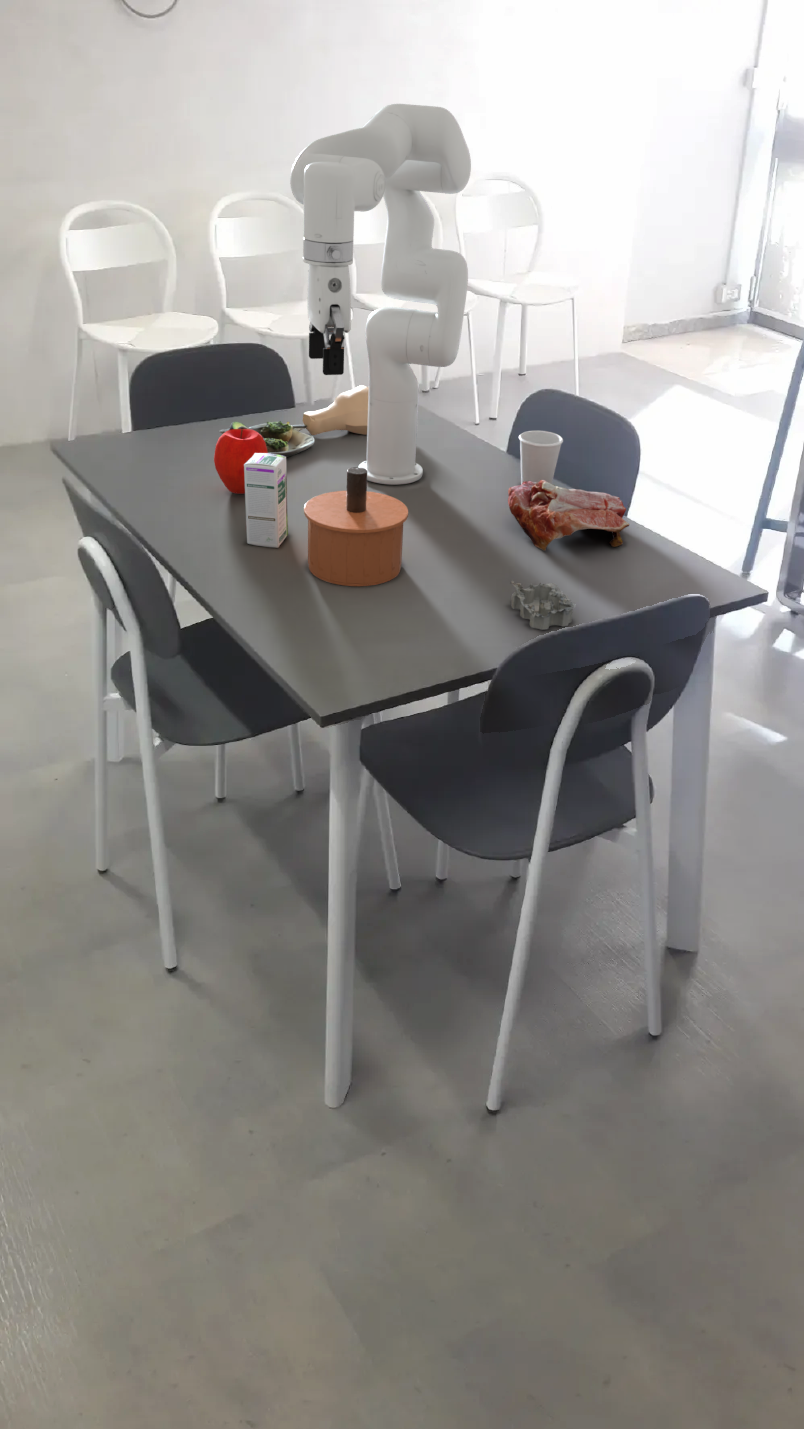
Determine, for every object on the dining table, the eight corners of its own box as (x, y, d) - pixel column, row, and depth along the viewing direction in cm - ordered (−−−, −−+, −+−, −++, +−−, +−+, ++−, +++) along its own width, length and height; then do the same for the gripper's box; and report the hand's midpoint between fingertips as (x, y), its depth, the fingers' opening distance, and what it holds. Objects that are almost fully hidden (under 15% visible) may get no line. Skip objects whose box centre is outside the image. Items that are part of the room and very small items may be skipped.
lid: (305, 495, 210) (305, 451, 206) (406, 498, 211) (408, 454, 207) (302, 535, 196) (302, 488, 192) (409, 538, 197) (412, 491, 193)
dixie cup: (506, 482, 245) (511, 432, 240) (544, 478, 248) (549, 428, 243) (527, 497, 238) (532, 446, 233) (565, 493, 241) (571, 442, 236)
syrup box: (278, 548, 213) (278, 466, 205) (245, 544, 214) (243, 462, 206) (288, 535, 218) (287, 455, 210) (255, 531, 219) (253, 451, 211)
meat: (560, 500, 238) (566, 449, 233) (650, 535, 225) (658, 482, 220) (483, 526, 226) (488, 472, 220) (574, 565, 213) (581, 509, 207)
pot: (309, 546, 214) (309, 494, 209) (399, 549, 215) (402, 496, 210) (306, 585, 201) (306, 529, 196) (402, 587, 202) (405, 532, 197)
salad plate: (281, 423, 269) (280, 402, 267) (336, 446, 259) (337, 424, 256) (207, 441, 257) (206, 419, 255) (262, 466, 247) (262, 443, 244)
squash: (403, 434, 268) (404, 396, 262) (317, 455, 261) (317, 416, 255) (380, 410, 275) (381, 373, 269) (296, 430, 268) (295, 392, 262)
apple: (234, 506, 228) (232, 441, 222) (204, 489, 235) (201, 426, 228) (279, 494, 234) (278, 430, 228) (248, 479, 240) (246, 416, 234)
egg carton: (505, 602, 199) (507, 578, 197) (549, 598, 201) (552, 574, 199) (531, 632, 190) (534, 608, 188) (577, 627, 192) (580, 603, 190)
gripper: (367, 263, 183) (362, 380, 192) (338, 241, 198) (336, 351, 206) (316, 263, 181) (314, 381, 190) (291, 241, 196) (290, 352, 204)
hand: (325, 366), depth 198 cm, fingers open, 9 cm apart
